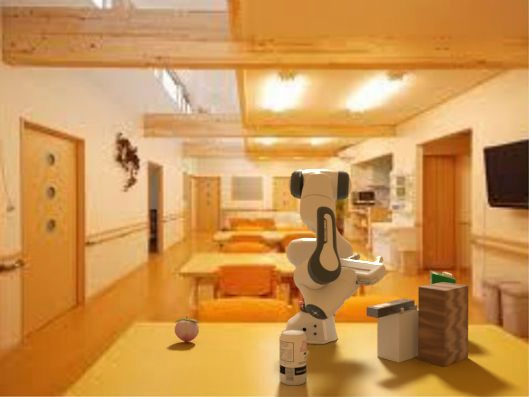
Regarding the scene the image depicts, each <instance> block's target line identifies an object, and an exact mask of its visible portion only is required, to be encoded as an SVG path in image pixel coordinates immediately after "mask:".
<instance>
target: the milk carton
mask: <svg viewBox="0 0 529 397" xmlns="http://www.w3.org/2000/svg"><path fill="white" fill-rule="evenodd" d="M440 282H446V283H453V284H457V280H456V278H455V277H454V276H453V274H452V273H450V272H448V271H442V273H441V272H438V271H435V270H429V285H430V284H435V283H440Z"/></svg>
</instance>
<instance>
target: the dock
mask: <svg viewBox="0 0 529 397" xmlns="http://www.w3.org/2000/svg"><path fill="white" fill-rule="evenodd" d="M376 319H377V321H376V322H377V326H376V327H377V329H376V332H377V334H376V335H377V338H376V341H377V342H376V343H377V344H376V346H377V347H376V348H377V350H376V351H377V353H376V354H377V355H376V356H377V358H381V359H385V360H389V361H392V362H396V363H402V362H404V361H408V360H410V359H413V358H418V304H415V305H414V309H411V310H407V311H404V308H401V312H399V313H396V314H392V315H388V316H384V317H380V318H376Z"/></svg>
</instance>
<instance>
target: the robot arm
mask: <svg viewBox="0 0 529 397" xmlns="http://www.w3.org/2000/svg"><path fill="white" fill-rule="evenodd" d="M352 185H353V184H352V180H351V176H350V174H349V173H348V172H347V171H344V170H340V169H339V170H335V169H326V168H320V169H305V170H303V169H297V170H296V169H295V170H294V171H293V172H292V173H291V175H290V177H289V180H288V190H289V191H290V195H291V196H292V197H293V198H295V199H298V200H300V203H299V215H300V216H299V217H300V220H301V221H302V223H304V225H305V226H306V227H307V229H308V230H309V231H311V232H312V233H313V234H315V238H314V237H313V238H312V237H310V238H309V237H302V238H295V239H292V240H291V241H290V242H289V243H288V245H287V247H286V252H285V254H286V258H287V260H288V262H290V264H291V265H292V266H294V267H295V268H294V270H293V273H292V274H293V275H292V279H293V283H294V285H295V287H296V288H297V289H298V290H299V292H300V293H301V295H302V297H303V299H304V301H302V300H299V301H298V306H299V309H300V311H298V312H296V314H294V315H293V316H292V317H290V318H289V319H288V320H287V323H286V326H285V330H292V329H294V330H301V331H304V333H305V335H306V337H307V344H309V345H310V344H316V345H325V344H327V343H331V342H334V341H336V340H339V336H338V333H337V329H336V328H337V327H336V322H335V315H336V313H337V312H339V310H340V309H341V308H342V307H343V305H344V304H345V302H346V301H348V300H349V299H351V297H352V296H353V295H355V293H356V292H357V291H358V290H359V289H360V286H365V287H369V286H374V285H376V284H378V283H379V282H380V281H381V280H383V279H384V277H385V276H386V275H387V269H386V266H385V264H384V263H383V262H384V258H383V256H381V255H378V256H376V257H375V261H374V262H372V261H371V262H370V261H365V260H364V261H363V260H360V259H361V255H360V253H354V249H353V248H354V247H353V246H352V244H351V242H350V241H349V240H348V239H347V238H346V239H345V237H343V236H342V234H341V233H340V232H339V230H338V228H337V222H336V200H337V201H342V200H346V199H347V198H348V197H349V195H350V194H351V190H352ZM280 335H281V333H280ZM280 335H279V336H280Z"/></svg>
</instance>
